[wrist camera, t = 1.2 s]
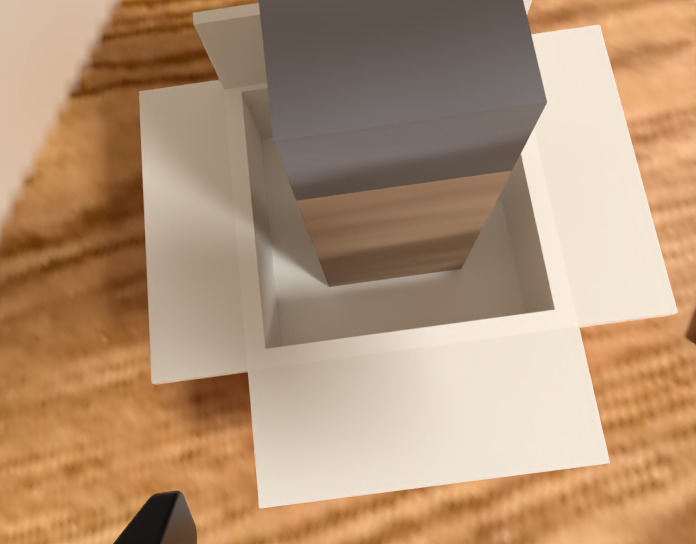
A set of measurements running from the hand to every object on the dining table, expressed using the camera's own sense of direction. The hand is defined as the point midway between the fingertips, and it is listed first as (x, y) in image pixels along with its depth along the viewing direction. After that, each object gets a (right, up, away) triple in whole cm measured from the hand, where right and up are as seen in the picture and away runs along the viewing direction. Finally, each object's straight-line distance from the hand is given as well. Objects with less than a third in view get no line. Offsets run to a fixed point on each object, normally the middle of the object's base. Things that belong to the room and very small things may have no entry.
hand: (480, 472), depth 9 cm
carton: (0, +3, +14) cm, 14 cm away
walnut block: (-1, +5, +14) cm, 15 cm away
